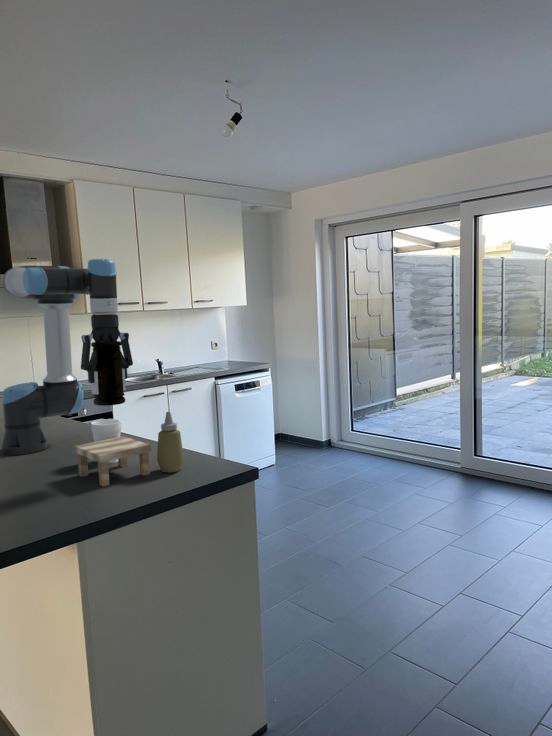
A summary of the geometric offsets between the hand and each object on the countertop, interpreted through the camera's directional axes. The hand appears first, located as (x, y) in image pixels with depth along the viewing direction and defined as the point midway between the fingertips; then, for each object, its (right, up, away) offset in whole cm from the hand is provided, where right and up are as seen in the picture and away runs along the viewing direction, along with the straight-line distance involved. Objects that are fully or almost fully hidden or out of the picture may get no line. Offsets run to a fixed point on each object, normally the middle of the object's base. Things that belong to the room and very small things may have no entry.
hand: (109, 391), depth 161 cm
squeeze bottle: (+17, -24, +6) cm, 30 cm away
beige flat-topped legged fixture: (+1, -25, +3) cm, 25 cm away
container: (0, -3, 0) cm, 4 cm away
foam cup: (-6, -23, +18) cm, 30 cm away
